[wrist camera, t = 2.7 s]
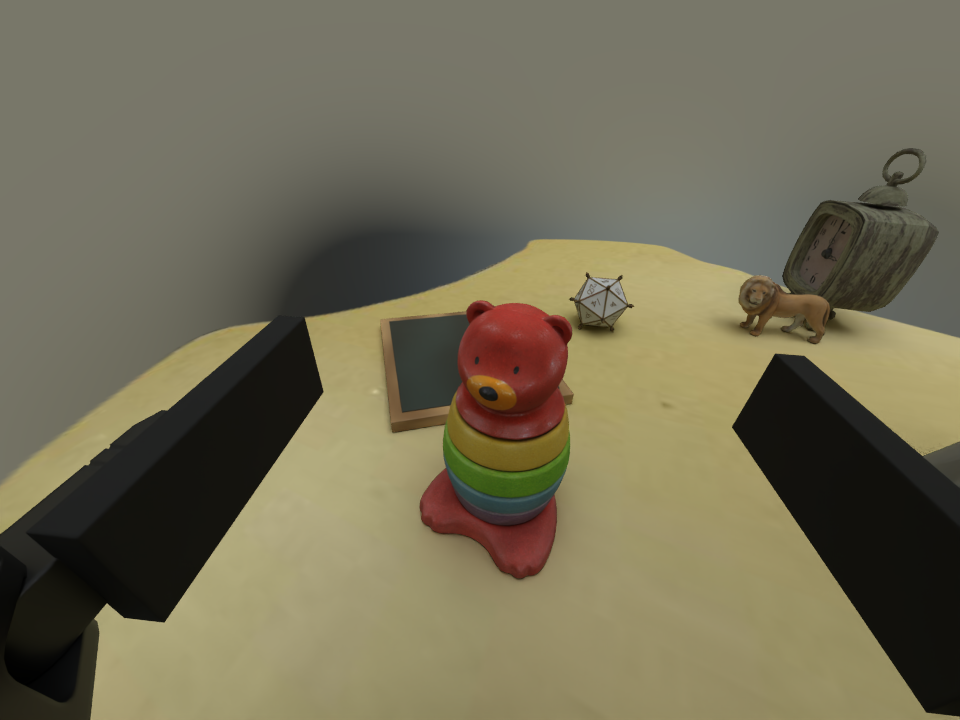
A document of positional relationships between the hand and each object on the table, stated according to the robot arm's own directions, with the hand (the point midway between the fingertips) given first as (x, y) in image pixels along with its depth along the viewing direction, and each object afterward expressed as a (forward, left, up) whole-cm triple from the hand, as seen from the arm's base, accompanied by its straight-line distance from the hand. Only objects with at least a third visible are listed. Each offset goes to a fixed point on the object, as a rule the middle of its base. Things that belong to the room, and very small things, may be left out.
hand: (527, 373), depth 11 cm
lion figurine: (-53, -28, -21) cm, 64 cm away
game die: (-27, -36, -21) cm, 50 cm away
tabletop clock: (-66, -31, -21) cm, 76 cm away
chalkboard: (-5, -31, -21) cm, 37 cm away
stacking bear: (-3, -10, -21) cm, 23 cm away
